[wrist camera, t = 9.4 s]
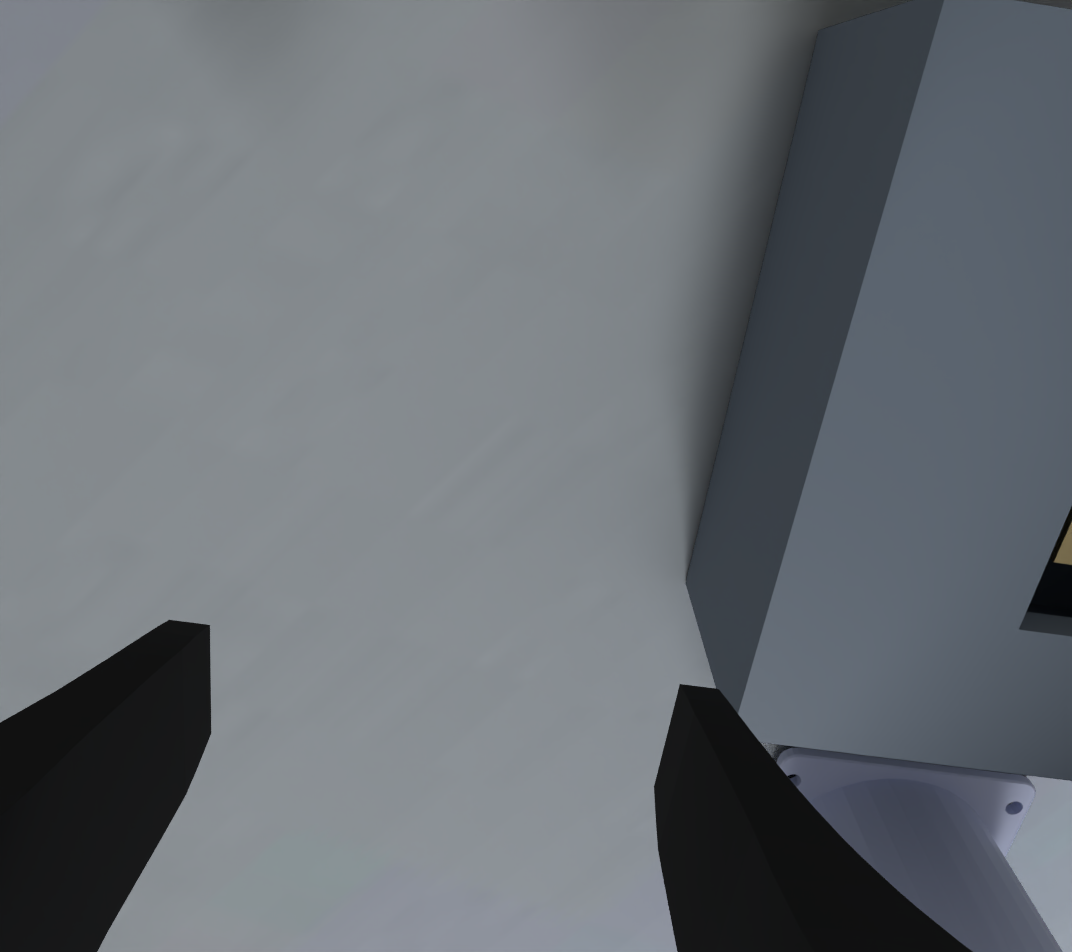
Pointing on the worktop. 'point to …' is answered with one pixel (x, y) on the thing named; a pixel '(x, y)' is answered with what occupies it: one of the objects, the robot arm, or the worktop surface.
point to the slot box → (908, 405)
